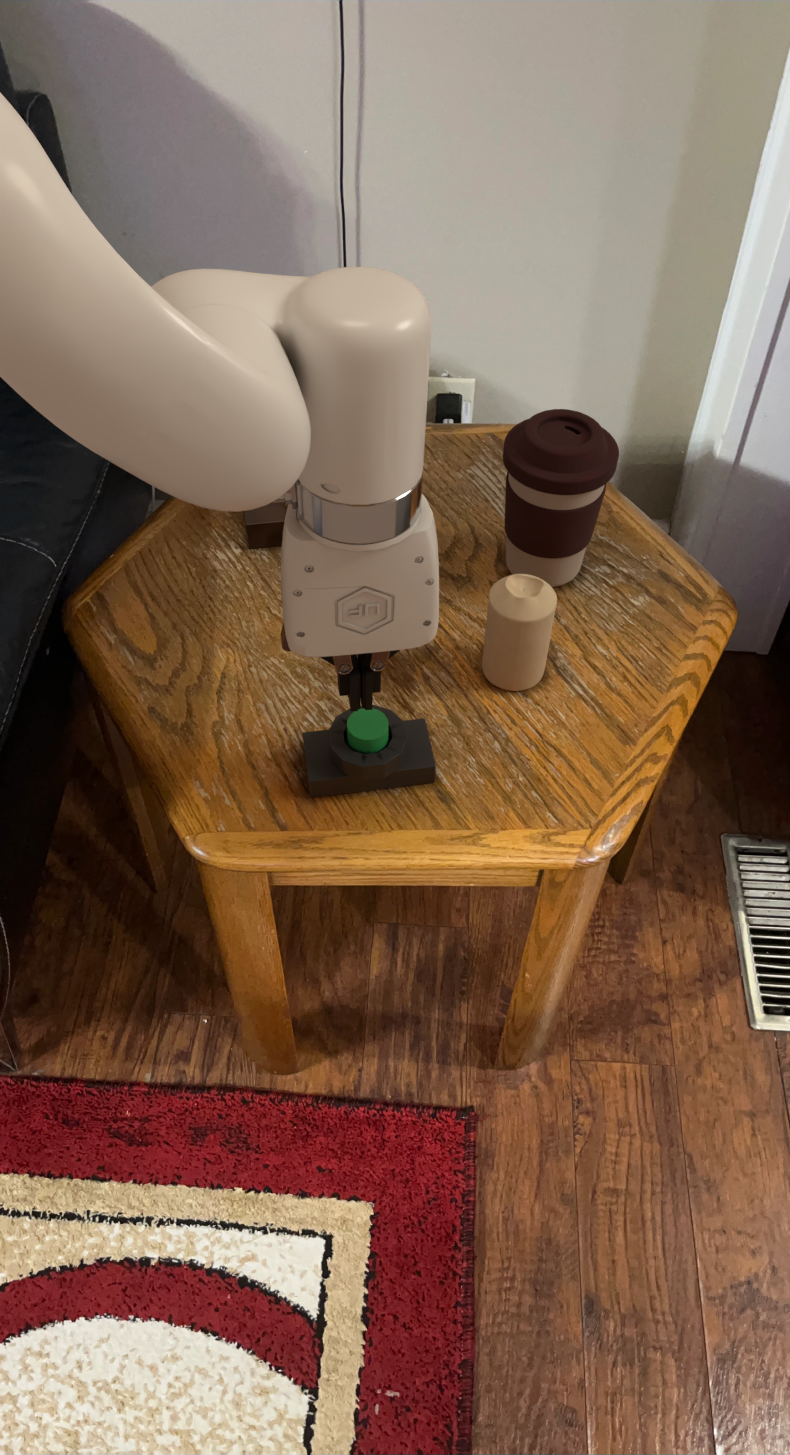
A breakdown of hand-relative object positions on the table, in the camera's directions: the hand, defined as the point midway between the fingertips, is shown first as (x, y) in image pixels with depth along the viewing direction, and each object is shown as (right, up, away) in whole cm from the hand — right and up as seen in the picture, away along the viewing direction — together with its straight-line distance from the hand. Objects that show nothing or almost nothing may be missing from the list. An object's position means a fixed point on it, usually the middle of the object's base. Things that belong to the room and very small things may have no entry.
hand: (358, 696), depth 72 cm
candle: (+13, +3, +14) cm, 19 cm away
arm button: (+1, -3, +4) cm, 5 cm away
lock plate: (-7, +19, +27) cm, 34 cm away
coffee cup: (+17, +13, +23) cm, 31 cm away
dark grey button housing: (+1, -5, +7) cm, 9 cm away
